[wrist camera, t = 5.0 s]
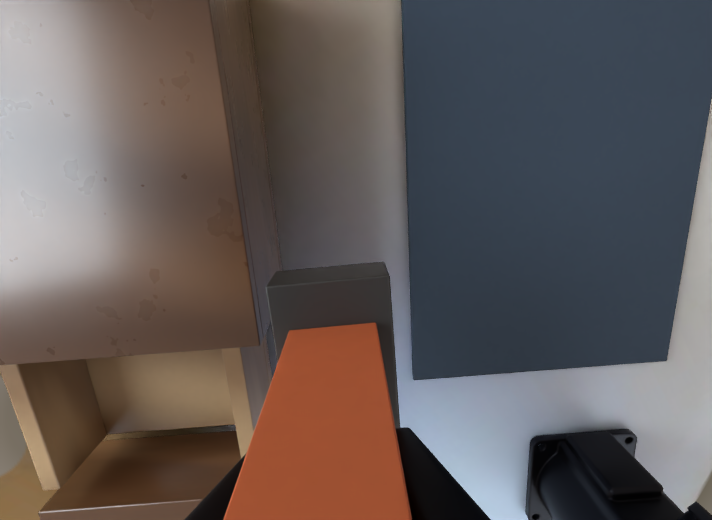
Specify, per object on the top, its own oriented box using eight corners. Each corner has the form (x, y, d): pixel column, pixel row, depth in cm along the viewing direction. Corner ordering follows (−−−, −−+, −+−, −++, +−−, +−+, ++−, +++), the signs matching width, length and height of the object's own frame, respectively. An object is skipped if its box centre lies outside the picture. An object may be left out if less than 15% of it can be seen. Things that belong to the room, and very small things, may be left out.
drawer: (299, 507, 23) (289, 589, 19) (124, 521, 23) (71, 607, 19) (261, 221, 18) (234, 240, 14) (40, 237, 18) (-57, 261, 14)
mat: (661, 357, 22) (667, 361, 22) (412, 376, 22) (413, 380, 22) (734, -85, 16) (744, -91, 16) (399, -64, 16) (400, -70, 16)
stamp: (395, 417, 14) (495, 942, 4) (298, 425, 14) (197, 970, 4) (384, 260, 12) (503, 568, 3) (275, 270, 12) (47, 610, 3)
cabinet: (285, 292, 20) (260, 346, 14) (62, 308, 20) (-57, 370, 14) (248, -4, 17) (194, -98, 11) (-25, 13, 16) (-236, -71, 10)
